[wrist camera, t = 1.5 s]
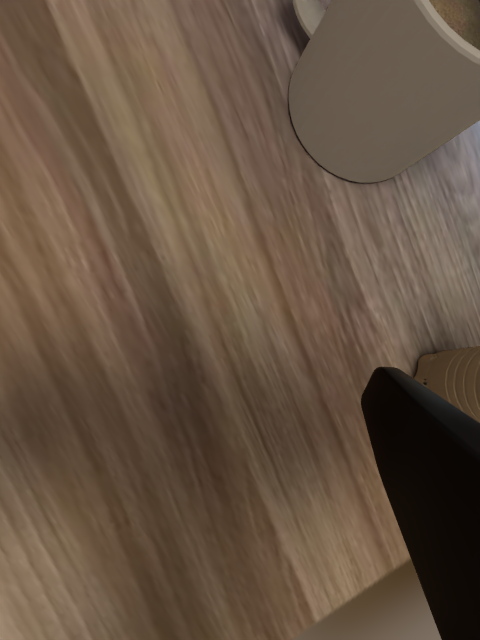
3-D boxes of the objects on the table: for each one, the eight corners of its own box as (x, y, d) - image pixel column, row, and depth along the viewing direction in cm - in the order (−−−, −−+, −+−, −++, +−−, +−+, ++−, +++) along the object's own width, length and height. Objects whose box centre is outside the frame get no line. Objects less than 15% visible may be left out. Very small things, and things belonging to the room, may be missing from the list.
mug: (431, 181, 25) (620, 76, 15) (287, 187, 22) (398, 67, 13) (407, 10, 25) (576, -202, 15) (262, -2, 23) (352, -260, 13)
